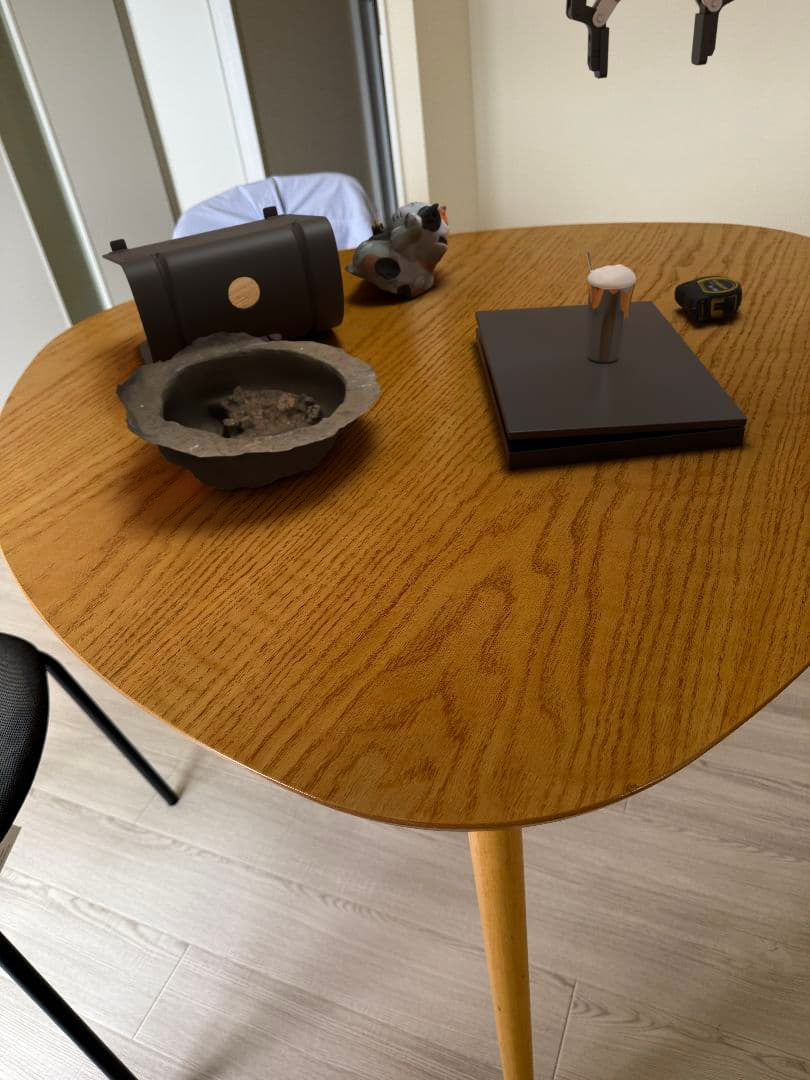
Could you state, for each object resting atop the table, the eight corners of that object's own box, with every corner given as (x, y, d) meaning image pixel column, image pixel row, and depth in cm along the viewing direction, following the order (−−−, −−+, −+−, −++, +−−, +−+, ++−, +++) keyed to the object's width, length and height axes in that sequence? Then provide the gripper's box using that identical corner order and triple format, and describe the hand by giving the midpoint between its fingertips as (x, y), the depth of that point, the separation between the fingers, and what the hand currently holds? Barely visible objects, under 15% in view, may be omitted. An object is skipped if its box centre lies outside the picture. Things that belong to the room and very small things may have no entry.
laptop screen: (508, 441, 69) (509, 432, 69) (475, 318, 93) (475, 311, 93) (745, 427, 69) (747, 418, 69) (650, 308, 93) (651, 300, 93)
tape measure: (671, 308, 97) (673, 278, 95) (725, 301, 97) (730, 271, 95) (690, 328, 92) (693, 297, 89) (748, 321, 91) (753, 289, 89)
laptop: (509, 470, 71) (508, 452, 70) (476, 342, 95) (475, 327, 94) (742, 445, 70) (745, 426, 69) (649, 322, 94) (650, 307, 93)
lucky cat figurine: (370, 270, 122) (403, 179, 115) (437, 304, 120) (474, 214, 114) (329, 274, 108) (365, 172, 102) (404, 312, 107) (445, 210, 100)
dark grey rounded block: (158, 405, 91) (114, 271, 81) (130, 341, 108) (91, 226, 99) (361, 349, 97) (342, 220, 88) (303, 297, 115) (282, 185, 106)
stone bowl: (112, 441, 84) (88, 358, 79) (324, 388, 93) (315, 310, 88) (174, 550, 65) (148, 451, 60) (430, 469, 75) (427, 378, 70)
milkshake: (592, 342, 84) (601, 246, 78) (634, 355, 80) (648, 256, 74) (565, 355, 81) (573, 257, 75) (608, 369, 78) (619, 268, 72)
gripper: (742, -184, 61) (716, 56, 71) (561, -158, 62) (559, 76, 72) (782, -200, 55) (747, 65, 65) (581, -172, 56) (576, 86, 66)
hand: (649, 70), depth 68 cm, fingers open, 8 cm apart
